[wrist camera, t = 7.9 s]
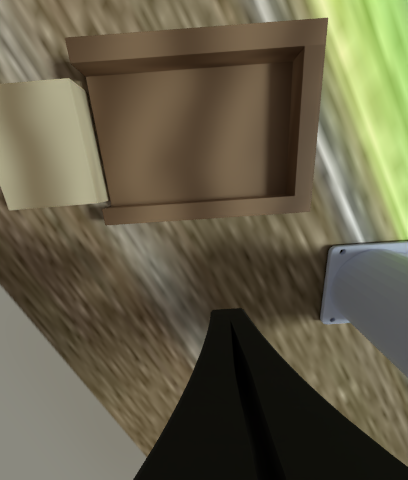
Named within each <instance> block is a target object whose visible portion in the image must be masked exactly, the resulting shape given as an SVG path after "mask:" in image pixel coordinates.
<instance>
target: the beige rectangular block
mask: <svg viewBox="0 0 408 480" xmlns="http://www.w3.org/2000/svg"><path fill="white" fill-rule="evenodd" d="M0 187H1V189H2V192H3V195H4V198H5V200H6V203H7V206H8V209H9V210H18V209H31V208H44V207H56V206H69V205H81V204H94V203H101V202H105V201H110V198H109V194H108V189H107V184H106V180H105V175H104V170H103V166H102V161H101V156H100V152H99V147H98V142H97V137H96V133H95V128H94V123H93V119H92V114H91V109H90V105H89V100H88V95H87V92H86V91H85V90H84V89H82V88H81V87H80V86H78V85H77V84H76V83H75V82H73V81H72V80H71V79H69V78H64V79H53V80H41V81H30V82H18V83H7V84H0Z"/></svg>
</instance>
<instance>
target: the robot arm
mask: <svg viewBox="0 0 408 480" xmlns="http://www.w3.org/2000/svg"><path fill="white" fill-rule="evenodd" d="M342 249H343V251H342V252H341V253H340V250H342ZM331 318H332V319H331ZM320 320H321V321H322V323H324V324H337V323H351V324H352V325H353V326H354V327H356V328H357V329H358V330H359V331H360V332H361V333H362V334H363V335H364V336H365V337H366V338H367V339H368V340H369V341H370V342H371V343H372V344H373V345H374V346H375V347H376V348H377V349H378V350H379V351H380V352H382V353H383V354H384V355H385V356H386V357H387V358H388V359H389V360H390V361H391V362H392V363H393V364H394V365H395V366H396V367H397V368H398V369H399V370H400V371H401V372H402V373H403V374H404V375H405V376H406V377H408V241H399V242H383V243H368V244H352V245H337V246H332V247H331V248H330V249H329V252H328V260H327V268H326V276H325V284H324V291H323V299H322V307H321V315H320ZM133 480H408V467H407V466H406V465H405V464H403V463H402V462H401V461H399V460H398V459H397V458H395V457H394V456H393V455H391V454H390V453H389V452H388V451H386V450H385V449H384V448H383V447H381V446H380V445H379V444H378V443H377V442H375V441H374V440H373V439H372V438H370V437H369V436H368V435H367V434H365V433H364V432H363V431H362V430H361V429H359V428H358V427H357V426H356V425H354V424H353V423H352V422H351V421H349V420H348V419H347V418H346V417H345V416H343V415H342V414H341V413H340V412H339V411H338V410H336V409H335V408H334V407H333V406H332V405H331V404H330V403H329V402H327V401H326V400H325V399H324V398H323V397H322V396H321V395H320V394H318V393H317V392H316V391H315V390H314V389H313V388H312V387H311V386H310V385H309V384H308V383H307V382H306V381H305V380H304V379H303V378H302V377H301V376H299V374H298V373H297V372H296V371H295V370H294V369H293V368H292V367H291V366H290V365H289V364H288V363H287V362H286V361H285V360H284V359H283V358H282V357H281V356H280V355H279V354H278V352H277V351H276V350H275V349H274V348H273V347H272V346H271V345H270V343H269V342H268V341H267V340H266V339H265V338H264V336H263V335H262V334H261V333H260V331H259V330H258V329H257V328H256V326H255V325H254V324H253V322H252V321H251V320H250V318H249V317H248V316H247V314H246V313H245V311H244V310H243V309H242V308H237V309H220V310H213V311H212V312H211V317H210V323H209V327H208V331H207V335H206V338H205V341H204V344H203V347H202V350H201V353H200V355H199V358H198V360H197V363H196V365H195V368H194V370H193V373H192V375H191V377H190V380H189V382H188V384H187V386H186V388H185V390H184V392H183V394H182V396H181V398H180V400H179V402H178V404H177V406H176V408H175V410H174V412H173V413H172V415H171V417H170V419H169V421H168V423H167V425H166V426H165V428H164V430H163V432H162V433H161V435H160V437H159V439H158V440H157V442H156V444H155V446H154V447H153V449H152V450H151V452H150V454H149V455H148V457H147V458H146V460H145V462H144V463H143V465H142V466H141V468H140V470H139V471H138V473H137V475H136V476H135V478H134V479H133Z"/></svg>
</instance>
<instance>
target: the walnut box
mask: <svg viewBox="0 0 408 480" xmlns="http://www.w3.org/2000/svg"><path fill="white" fill-rule="evenodd" d="M327 24H328V18H318V19H305V20H292V21H279V22H266V23H252V24H239V25H226V26H213V27H200V28H187V29H173V30H160V31H147V32H134V33H121V34H107V35H94V36H81V37H68V38H65V40H66V45H67V50H68V54H69V59H70V63H71V64H72V65H73V66H74V67H75V68H76V69H78V70H79V71H80V72H81V73H82V74H83V75H84V76H85V77H86V81H87V86H88V91H89V96H90V101H91V105H92V110H93V115H94V120H95V125H96V130H97V135H98V140H99V145H100V150H101V155H102V160H103V165H104V170H105V175H106V180H107V185H108V190H109V195H110V200H111V205H112V206H110V207H107V208H104V209H102V212H103V216H104V221H105V225H118V224H133V223H148V222H163V221H178V220H193V219H208V218H224V217H239V216H254V215H269V214H284V213H299V212H310V208H311V198H312V187H313V176H314V165H315V154H316V143H317V133H318V122H319V111H320V100H321V89H322V78H323V68H324V57H325V46H326V35H327Z"/></svg>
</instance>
